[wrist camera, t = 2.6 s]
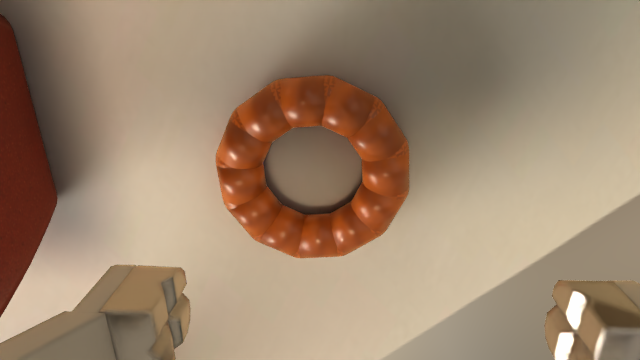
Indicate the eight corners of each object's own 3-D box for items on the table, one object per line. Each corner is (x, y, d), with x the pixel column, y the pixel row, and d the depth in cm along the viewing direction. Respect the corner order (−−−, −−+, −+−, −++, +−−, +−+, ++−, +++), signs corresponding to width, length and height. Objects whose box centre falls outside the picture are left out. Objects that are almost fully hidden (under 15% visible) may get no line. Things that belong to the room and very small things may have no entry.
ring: (338, 31, 24) (338, 36, 22) (439, 187, 28) (449, 207, 25) (187, 141, 27) (171, 156, 25) (295, 269, 31) (290, 294, 28)
